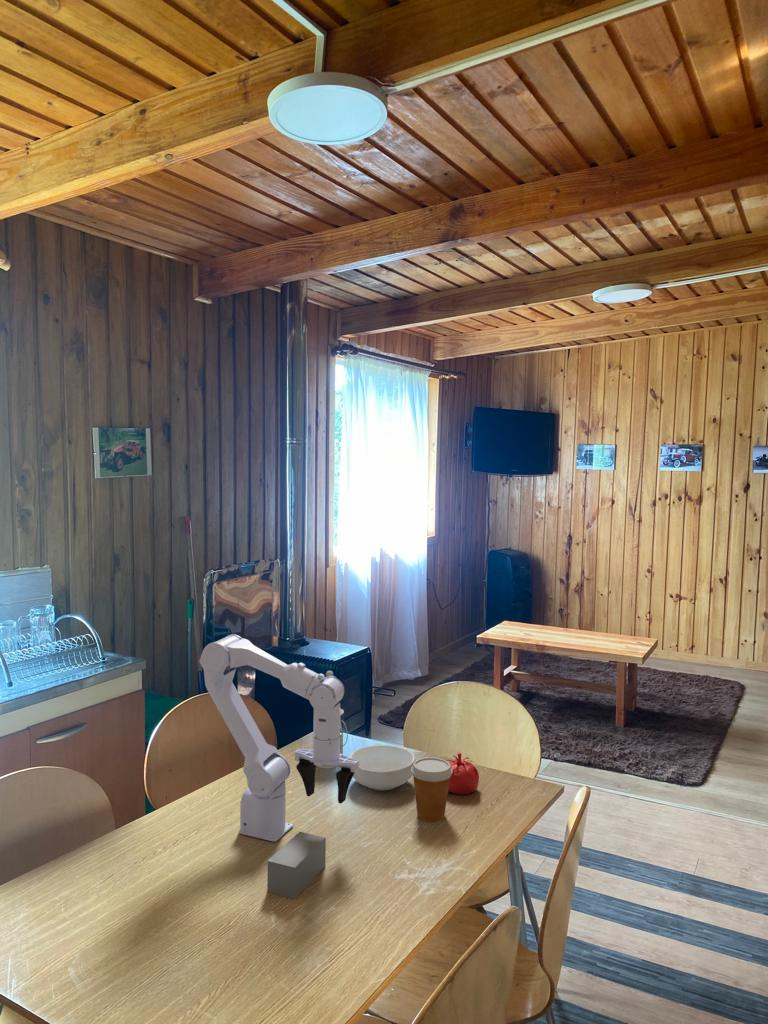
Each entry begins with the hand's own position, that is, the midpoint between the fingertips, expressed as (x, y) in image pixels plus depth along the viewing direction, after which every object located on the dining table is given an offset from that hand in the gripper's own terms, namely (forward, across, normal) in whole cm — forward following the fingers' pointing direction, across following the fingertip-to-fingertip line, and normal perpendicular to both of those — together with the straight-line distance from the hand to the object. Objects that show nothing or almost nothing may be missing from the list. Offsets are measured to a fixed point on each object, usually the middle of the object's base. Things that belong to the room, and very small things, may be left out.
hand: (326, 797), depth 160 cm
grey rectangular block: (+9, +2, -15) cm, 18 cm away
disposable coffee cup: (+10, +16, +21) cm, 28 cm away
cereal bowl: (+10, -1, +32) cm, 33 cm away
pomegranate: (+10, +18, +37) cm, 42 cm away
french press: (+10, -19, +38) cm, 44 cm away
